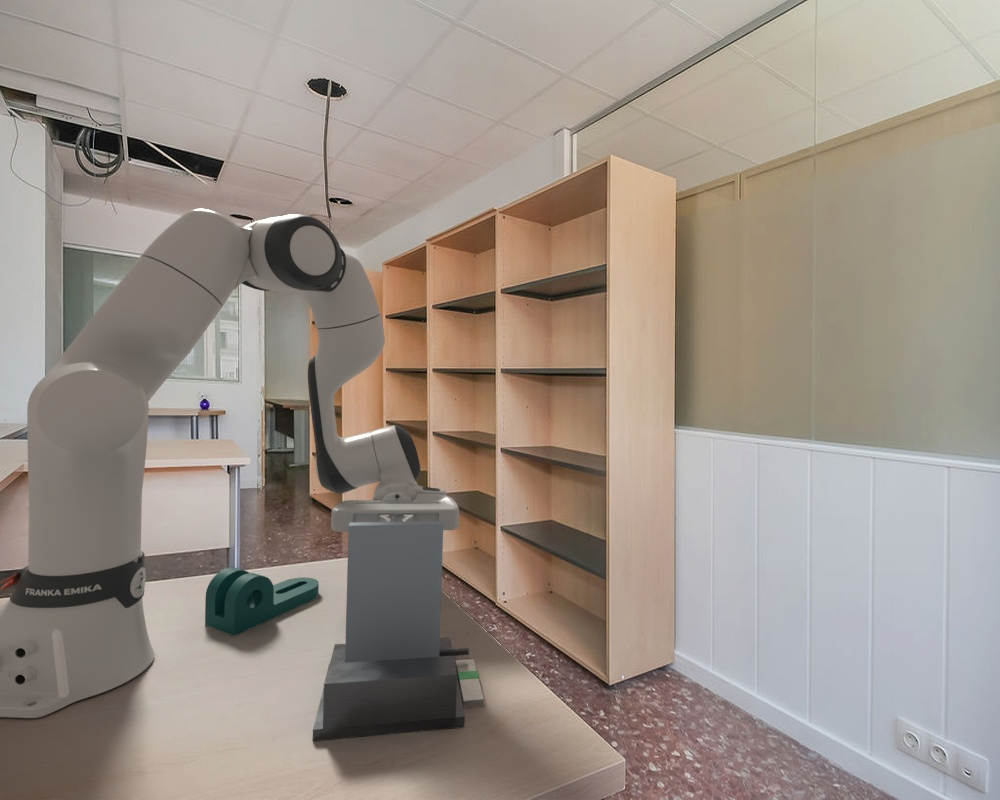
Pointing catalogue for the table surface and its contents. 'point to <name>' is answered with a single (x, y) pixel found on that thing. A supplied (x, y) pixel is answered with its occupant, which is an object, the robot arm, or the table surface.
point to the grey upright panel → (394, 591)
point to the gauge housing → (395, 695)
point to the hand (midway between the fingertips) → (396, 528)
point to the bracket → (252, 599)
